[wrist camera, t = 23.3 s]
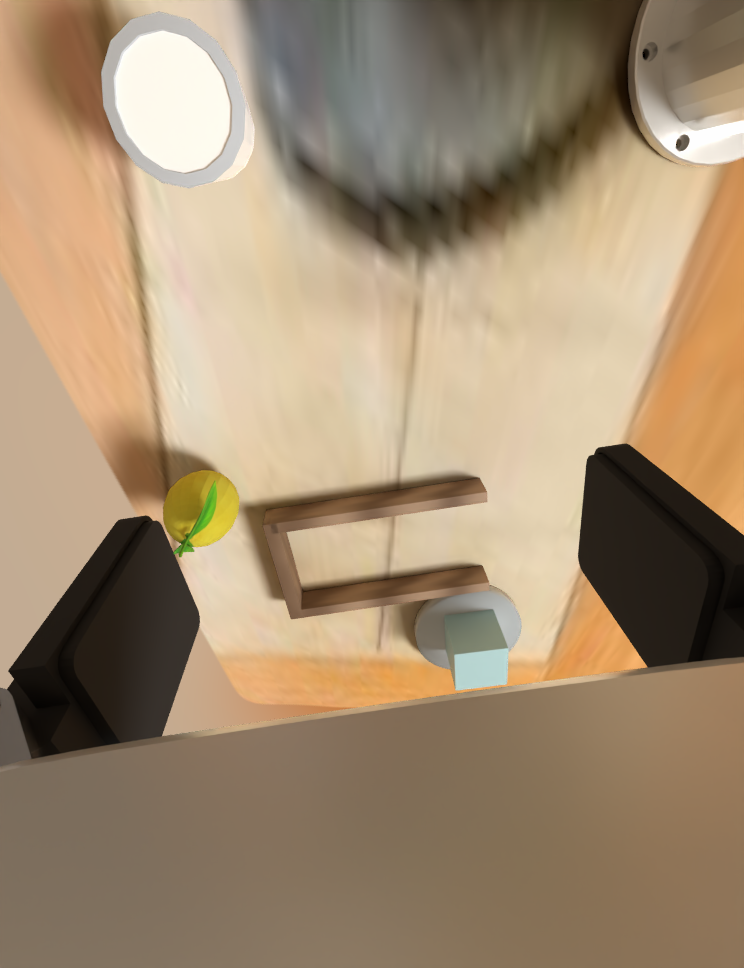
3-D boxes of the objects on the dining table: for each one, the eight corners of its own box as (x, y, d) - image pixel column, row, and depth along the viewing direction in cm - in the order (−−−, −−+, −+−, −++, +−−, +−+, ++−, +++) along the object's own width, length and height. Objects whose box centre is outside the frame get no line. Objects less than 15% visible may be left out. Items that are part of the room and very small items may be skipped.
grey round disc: (517, 575, 49) (522, 586, 47) (516, 651, 54) (520, 662, 53) (409, 591, 49) (411, 602, 47) (419, 665, 54) (420, 676, 53)
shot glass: (221, 218, 32) (193, 219, 26) (127, 128, 29) (72, 105, 23) (287, 127, 30) (274, 105, 24) (193, 22, 27) (150, -34, 21)
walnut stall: (479, 477, 43) (487, 492, 41) (482, 573, 48) (489, 590, 46) (266, 509, 43) (262, 525, 41) (293, 601, 48) (291, 619, 46)
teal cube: (493, 609, 49) (508, 647, 44) (492, 644, 51) (506, 684, 47) (444, 615, 49) (454, 654, 44) (445, 649, 51) (455, 690, 47)
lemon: (233, 440, 40) (204, 504, 31) (263, 498, 43) (243, 571, 34) (160, 465, 40) (110, 533, 32) (193, 520, 43) (157, 597, 34)
